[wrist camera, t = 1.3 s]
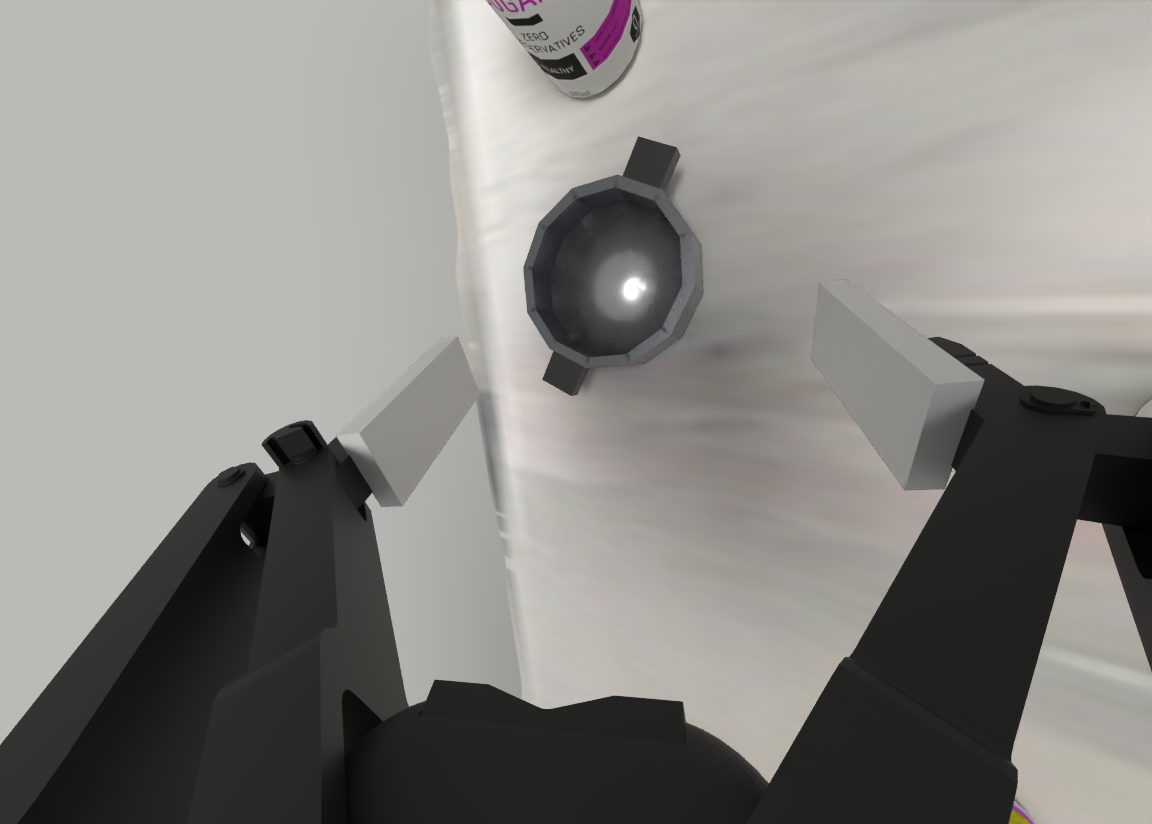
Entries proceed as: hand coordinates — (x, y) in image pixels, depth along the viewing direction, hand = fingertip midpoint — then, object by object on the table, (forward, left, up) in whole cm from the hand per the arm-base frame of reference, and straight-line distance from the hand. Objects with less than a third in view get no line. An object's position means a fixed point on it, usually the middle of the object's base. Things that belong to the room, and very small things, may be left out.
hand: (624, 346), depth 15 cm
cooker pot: (-2, -9, -19) cm, 21 cm away
